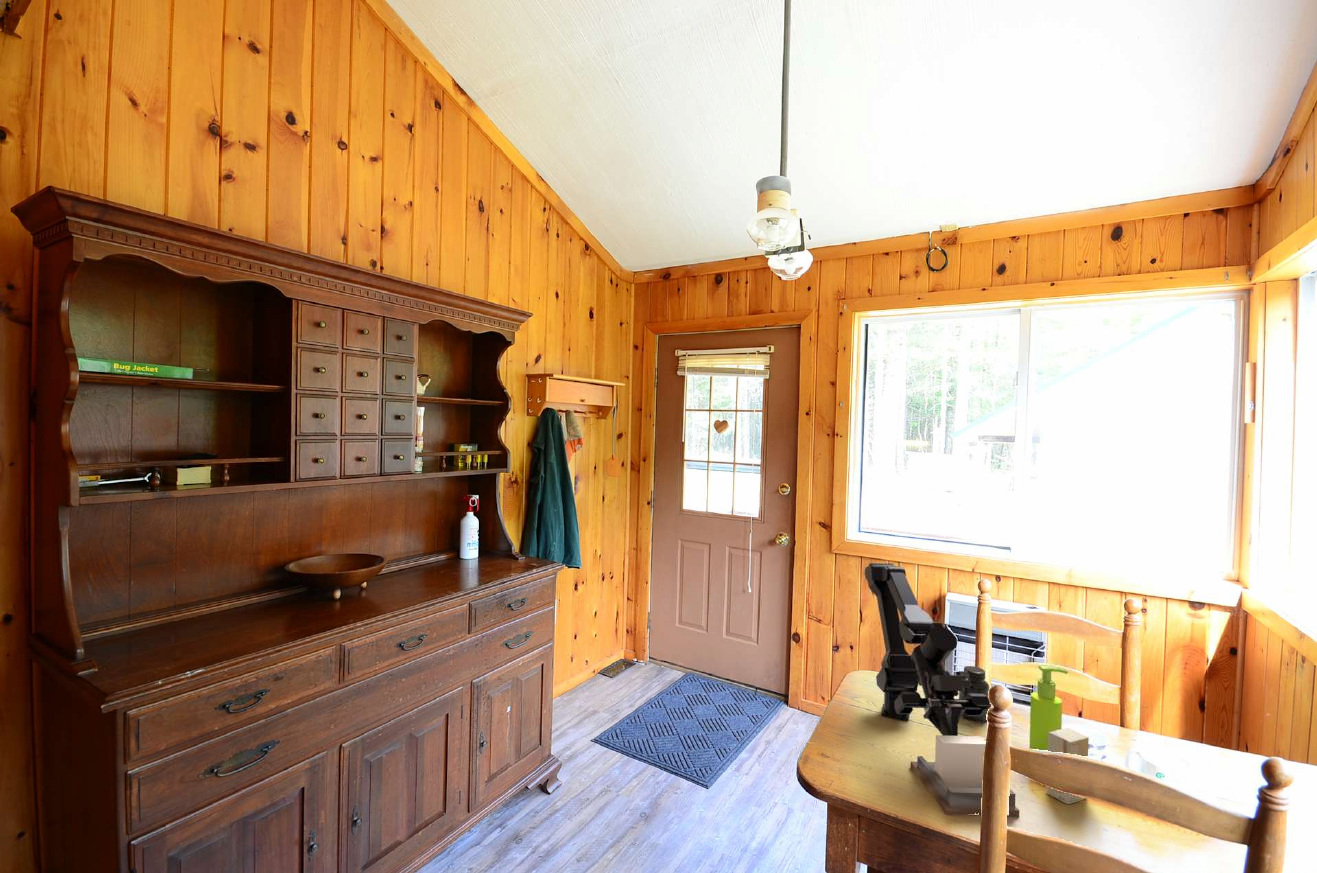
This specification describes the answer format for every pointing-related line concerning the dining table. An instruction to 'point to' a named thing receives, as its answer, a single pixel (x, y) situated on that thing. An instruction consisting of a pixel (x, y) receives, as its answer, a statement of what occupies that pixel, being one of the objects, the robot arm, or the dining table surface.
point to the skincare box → (1071, 744)
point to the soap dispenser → (1045, 709)
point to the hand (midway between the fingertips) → (954, 746)
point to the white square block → (960, 760)
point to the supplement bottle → (975, 689)
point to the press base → (940, 801)
